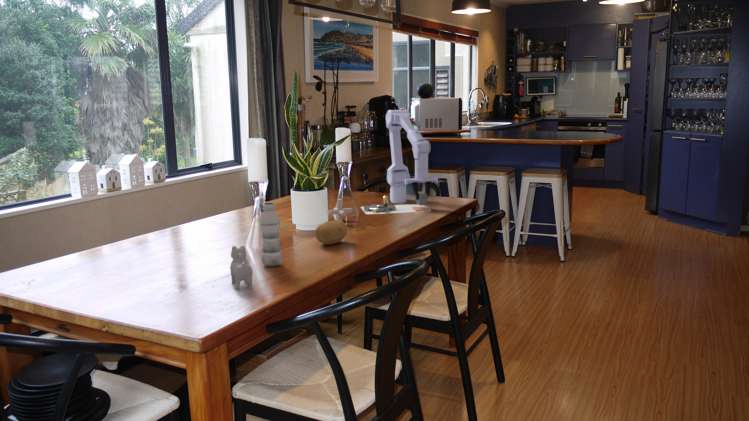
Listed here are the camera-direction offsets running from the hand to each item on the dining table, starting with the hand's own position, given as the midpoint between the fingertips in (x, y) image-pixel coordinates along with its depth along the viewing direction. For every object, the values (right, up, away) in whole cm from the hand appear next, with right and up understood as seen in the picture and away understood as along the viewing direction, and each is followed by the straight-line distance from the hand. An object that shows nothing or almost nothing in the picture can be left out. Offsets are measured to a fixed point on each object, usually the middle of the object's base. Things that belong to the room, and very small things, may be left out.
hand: (421, 199), depth 273 cm
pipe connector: (-35, -11, -19) cm, 41 cm away
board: (-11, -5, +3) cm, 13 cm away
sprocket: (-18, -5, +2) cm, 19 cm away
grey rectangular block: (0, -2, 0) cm, 2 cm away
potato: (-36, -17, -51) cm, 65 cm away
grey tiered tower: (-53, -23, -77) cm, 96 cm away
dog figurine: (-59, -27, -95) cm, 115 cm away
